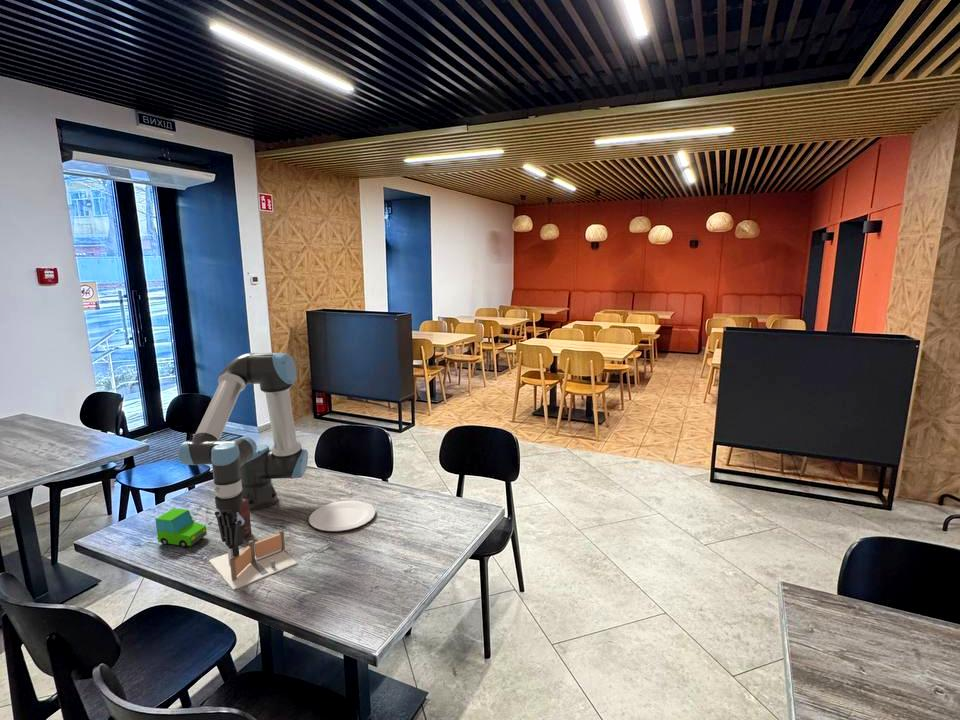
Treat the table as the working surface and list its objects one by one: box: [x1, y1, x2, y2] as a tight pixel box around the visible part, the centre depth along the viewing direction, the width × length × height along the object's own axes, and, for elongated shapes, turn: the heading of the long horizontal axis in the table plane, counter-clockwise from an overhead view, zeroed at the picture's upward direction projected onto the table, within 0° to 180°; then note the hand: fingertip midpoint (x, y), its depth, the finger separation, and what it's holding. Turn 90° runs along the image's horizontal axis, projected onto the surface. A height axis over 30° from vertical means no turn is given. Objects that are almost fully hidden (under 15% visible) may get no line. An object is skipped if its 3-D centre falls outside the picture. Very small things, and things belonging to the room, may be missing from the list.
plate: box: [308, 500, 376, 533], centre depth 198 cm, size 25×25×2 cm
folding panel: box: [230, 545, 252, 580], centre depth 161 cm, size 10×1×7 cm, turn 172°
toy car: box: [155, 507, 208, 549], centre depth 180 cm, size 10×13×10 cm
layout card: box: [208, 542, 298, 591], centre depth 168 cm, size 20×22×2 cm
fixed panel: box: [248, 529, 286, 563], centre depth 171 cm, size 12×2×7 cm, turn 135°
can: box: [240, 497, 252, 540], centre depth 183 cm, size 6×6×14 cm
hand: (234, 564), depth 161 cm, fingers closed
